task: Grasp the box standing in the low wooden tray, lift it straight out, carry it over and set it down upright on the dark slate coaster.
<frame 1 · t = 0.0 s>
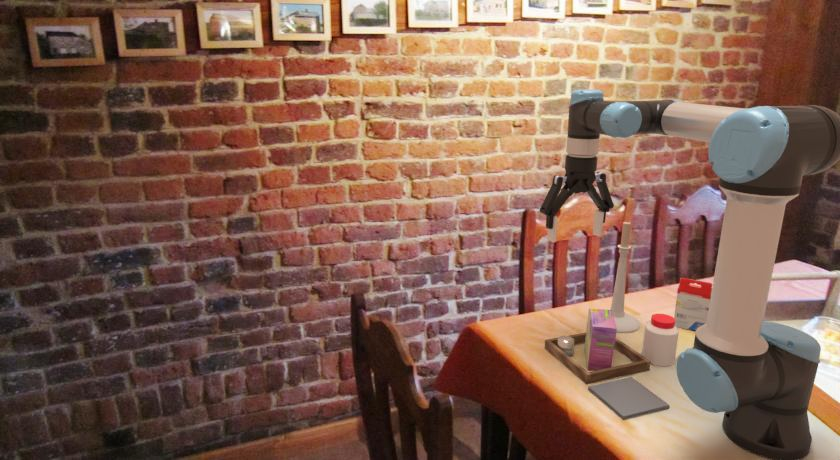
hand: (574, 238, 146), 28 cm above the table, fingers open, 13 cm apart
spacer: (564, 353, 146), resting in wooden tray
wooden tray: (595, 358, 143), on the table
ink box: (689, 327, 161), on the table
coaster: (627, 398, 127), on the table
pill bottle: (657, 359, 144), on the table
candlestick: (615, 323, 163), on the table
box: (597, 361, 143), resting in wooden tray
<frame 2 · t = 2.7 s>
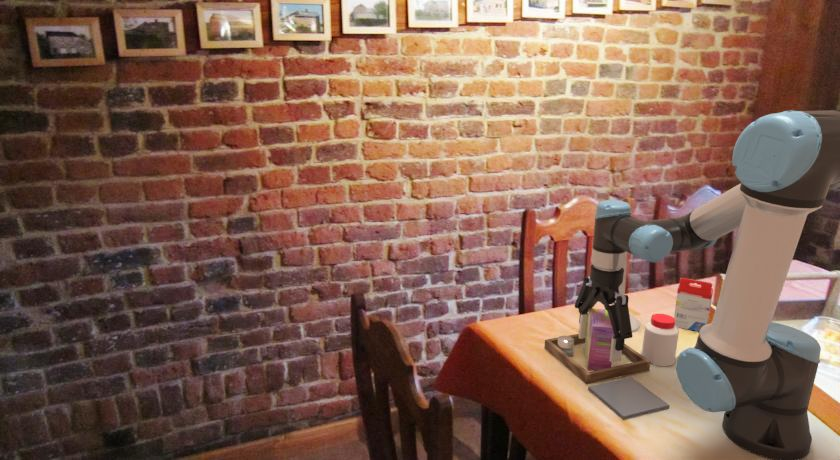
hand: (598, 348, 142), 3 cm above the table, fingers closed on box, 12 cm apart
box: (597, 361, 143), resting in wooden tray, touching gripper
everything else where it was.
when the fingers open (6 cm above the table, at t = 7.9 s): box drops 2 cm, resting on coaster.
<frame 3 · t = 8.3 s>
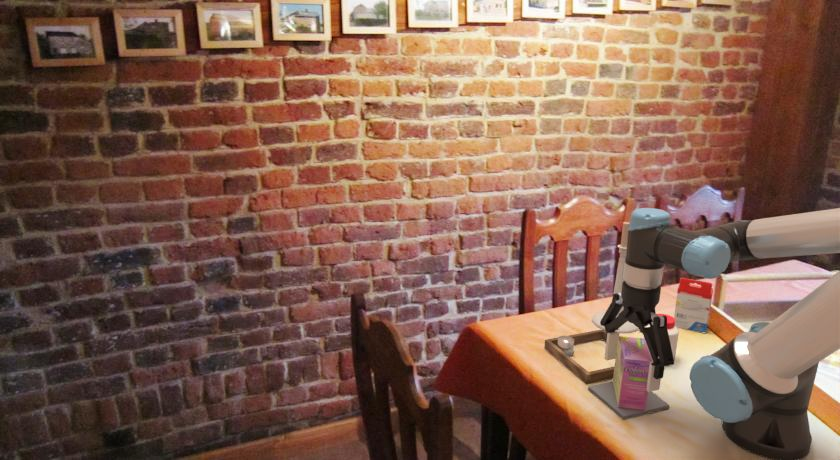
hand: (630, 373, 125), 6 cm above the table, fingers open, 13 cm apart
box: (628, 396, 126), point 1 cm above the table, touching coaster
everything else where it was.
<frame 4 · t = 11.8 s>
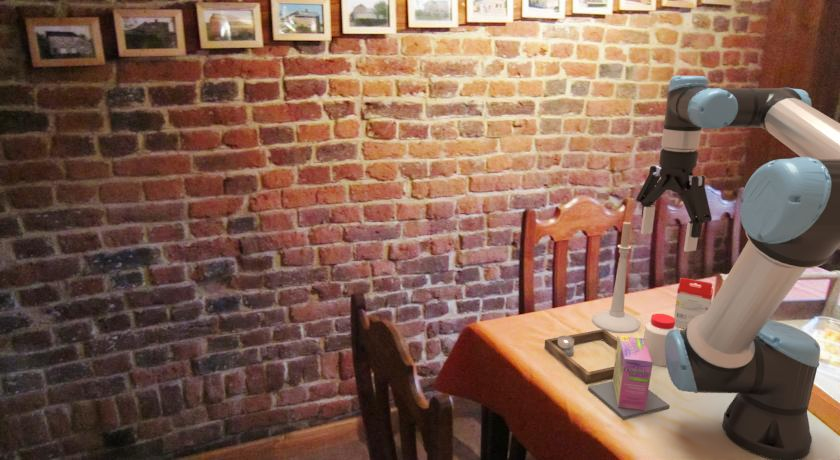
hand: (667, 241, 132), 32 cm above the table, fingers open, 13 cm apart
nothing on the table moved.
at the end: box inside the target area (0.2 cm from its centre), point 0.6 cm above the table; box tilted 0°; the gripper is holding nothing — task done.
